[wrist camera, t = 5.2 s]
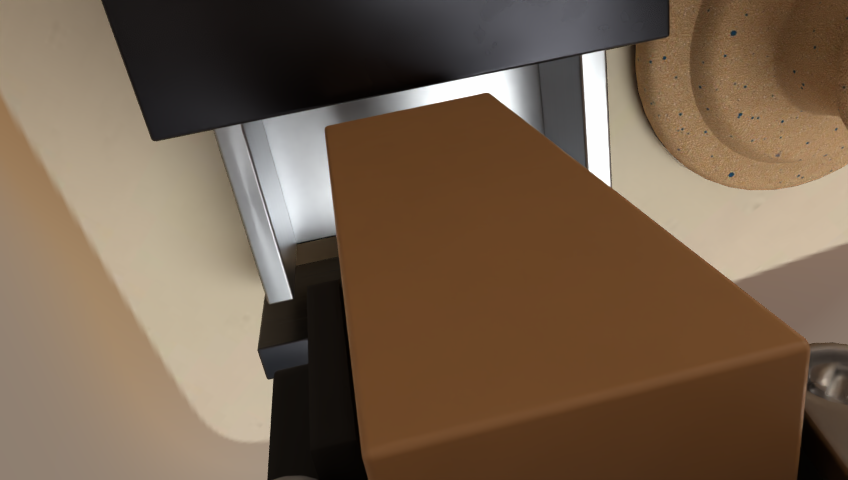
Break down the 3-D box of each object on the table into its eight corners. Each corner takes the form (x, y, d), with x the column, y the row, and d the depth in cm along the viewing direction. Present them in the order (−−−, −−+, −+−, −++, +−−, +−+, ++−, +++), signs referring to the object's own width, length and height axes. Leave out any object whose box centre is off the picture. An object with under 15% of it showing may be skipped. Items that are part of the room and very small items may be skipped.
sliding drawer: (586, 308, 28) (642, 383, 23) (299, 373, 27) (296, 466, 22) (564, -20, 22) (632, -9, 17) (199, 51, 21) (166, 83, 17)
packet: (370, 323, 18) (458, 808, 8) (323, 125, 15) (361, 457, 5) (514, 289, 18) (775, 713, 8) (489, 90, 16) (816, 341, 6)
